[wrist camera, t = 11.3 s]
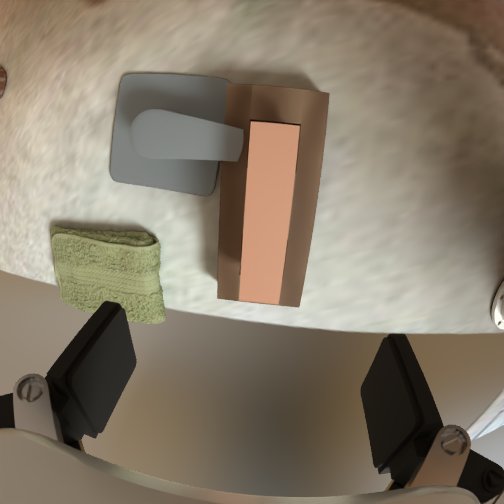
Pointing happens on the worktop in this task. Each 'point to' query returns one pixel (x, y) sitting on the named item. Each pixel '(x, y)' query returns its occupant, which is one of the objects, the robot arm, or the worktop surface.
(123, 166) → the shower valve
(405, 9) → the worktop surface
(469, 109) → the worktop surface
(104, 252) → the washcloth
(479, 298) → the worktop surface
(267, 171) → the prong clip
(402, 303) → the worktop surface
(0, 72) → the sauce bottle
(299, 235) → the slotted rail
